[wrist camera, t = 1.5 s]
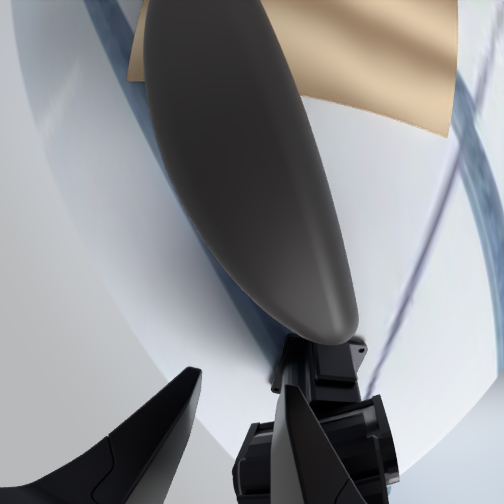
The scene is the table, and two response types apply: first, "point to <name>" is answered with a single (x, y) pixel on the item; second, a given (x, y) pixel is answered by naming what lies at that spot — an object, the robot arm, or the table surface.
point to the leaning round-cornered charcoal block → (248, 161)
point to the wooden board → (363, 54)
